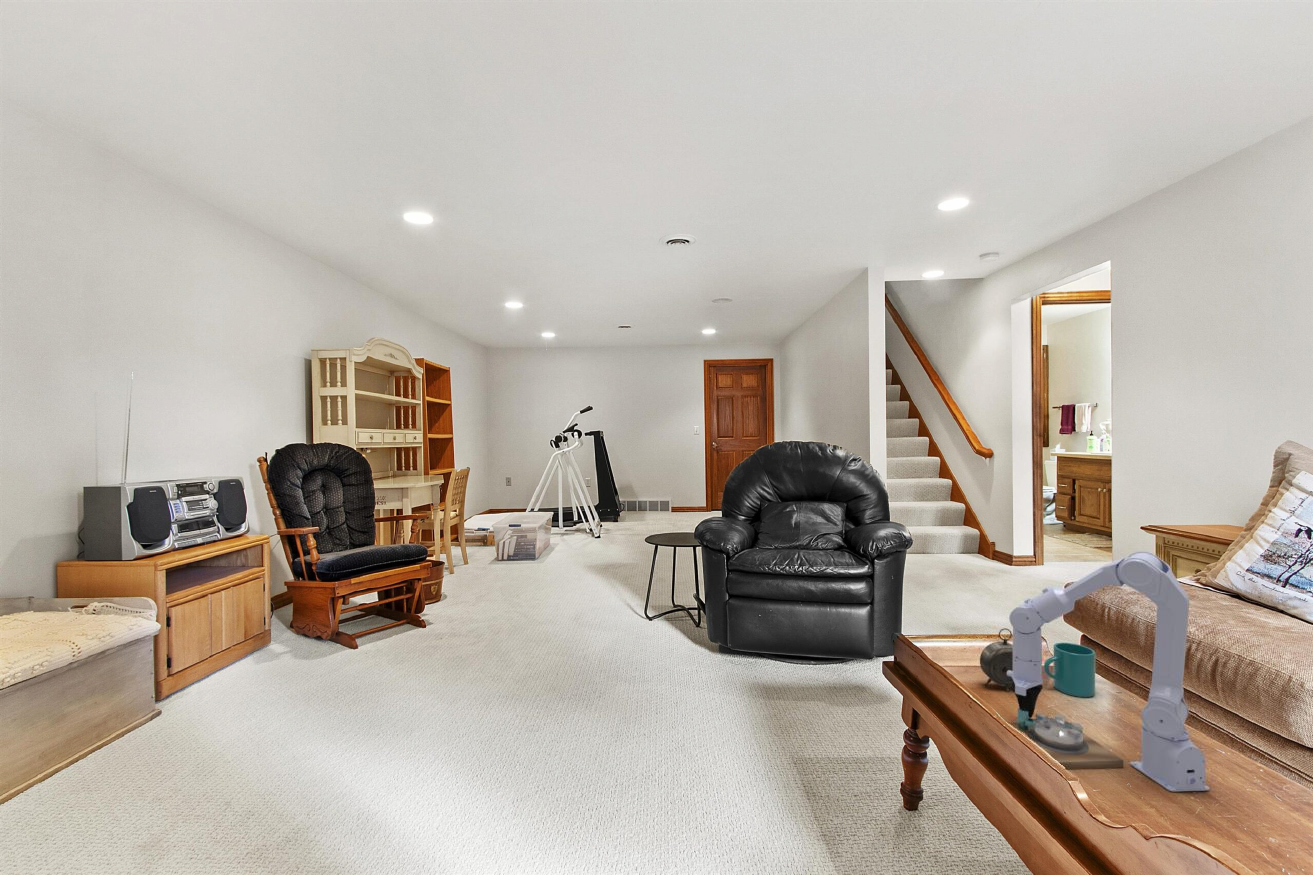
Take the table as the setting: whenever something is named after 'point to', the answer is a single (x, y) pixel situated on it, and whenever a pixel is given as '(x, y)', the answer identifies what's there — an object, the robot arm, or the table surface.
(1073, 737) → the rotary knob
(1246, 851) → the table surface
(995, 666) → the alarm clock
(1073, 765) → the dial board
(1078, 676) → the cup
